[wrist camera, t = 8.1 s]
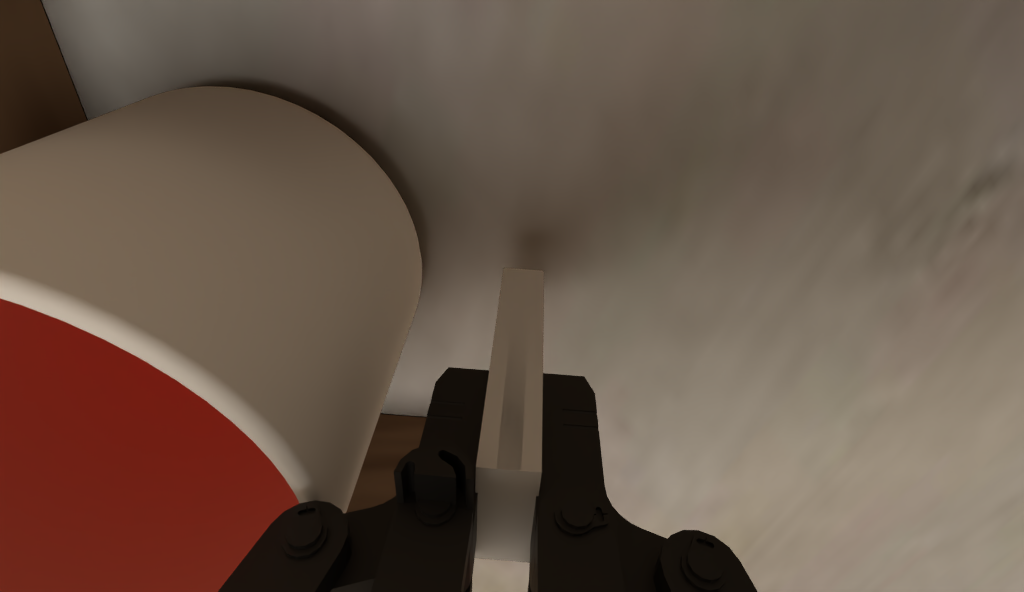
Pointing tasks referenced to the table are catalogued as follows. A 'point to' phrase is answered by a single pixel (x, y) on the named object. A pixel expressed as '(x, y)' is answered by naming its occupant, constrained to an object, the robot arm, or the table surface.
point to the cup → (189, 335)
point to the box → (55, 107)
